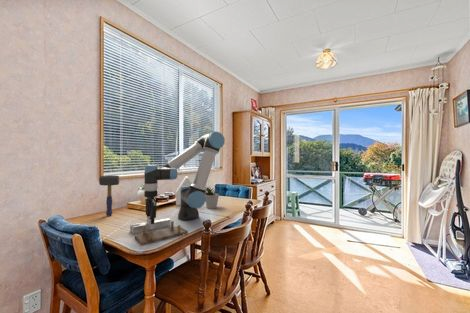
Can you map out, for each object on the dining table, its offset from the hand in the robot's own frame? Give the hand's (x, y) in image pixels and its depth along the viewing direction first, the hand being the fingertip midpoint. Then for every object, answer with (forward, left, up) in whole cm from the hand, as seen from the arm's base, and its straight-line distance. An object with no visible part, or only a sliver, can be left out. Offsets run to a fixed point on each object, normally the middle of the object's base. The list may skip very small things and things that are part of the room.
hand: (150, 227), depth 134 cm
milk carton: (-51, -50, -1) cm, 72 cm away
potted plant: (-60, -22, -1) cm, 64 cm away
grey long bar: (-1, 0, -1) cm, 1 cm away
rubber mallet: (+14, -47, -1) cm, 50 cm away
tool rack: (-1, +16, -1) cm, 16 cm away
